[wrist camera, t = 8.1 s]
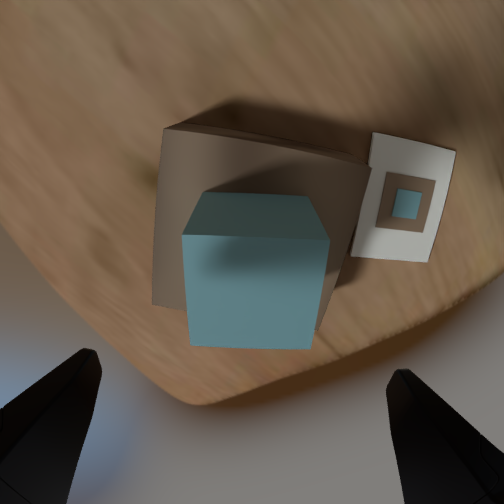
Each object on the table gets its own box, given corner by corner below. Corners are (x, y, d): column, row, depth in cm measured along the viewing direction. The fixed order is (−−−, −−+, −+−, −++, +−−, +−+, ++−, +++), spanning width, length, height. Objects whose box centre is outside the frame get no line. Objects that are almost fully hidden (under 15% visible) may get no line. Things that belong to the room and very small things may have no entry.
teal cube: (307, 196, 15) (330, 240, 11) (297, 285, 18) (310, 349, 13) (202, 192, 15) (181, 234, 11) (205, 281, 18) (190, 345, 13)
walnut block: (350, 153, 18) (372, 168, 15) (309, 293, 23) (318, 330, 19) (182, 121, 17) (163, 128, 14) (167, 270, 22) (152, 304, 18)
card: (453, 150, 17) (457, 152, 17) (425, 260, 21) (428, 263, 20) (372, 131, 17) (375, 133, 17) (349, 254, 21) (351, 257, 20)
